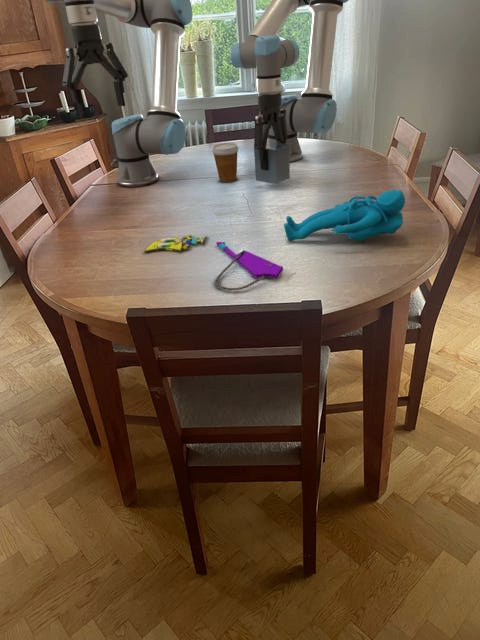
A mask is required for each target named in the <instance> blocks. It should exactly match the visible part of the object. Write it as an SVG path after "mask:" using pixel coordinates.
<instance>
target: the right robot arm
mask: <svg viewBox="0 0 480 640" xmlns="http://www.w3.org/2000/svg"><path fill="white" fill-rule="evenodd" d="M348 2H349V0H271V1H270V2H269V4H268V6H267V7H266V9H265V10H264V11H263V13H262V14H261V16H260V17H259V19H258V20H257V22H256V23H255V25H254V26H253V28H252V29H251V31H250V32H249V34H248V35H247V37H246V38H245V39H244V41H243V42H240V41H239V42H236V43H233V44H232V46H231V48H230V50H229V59H230V61H231V65H232V66H233V67H234V68H235V69H243V70H249V69H256V92H257V93H258V95H257V107H259V109H260V111H259V115H254V116H253V123H254V135H253V136H254V137H253V138H254V139H253V150H254V149H257V150H259V159H260V164H261V170H268V150H266V145H267V142H270V143H278V144H287V145H289V163H292V162H296V161H299V160H301V159H302V158H303V151H302V148H301V144H300V142H299V139H298V133H303V134H304V133H307V134H326V133H328V132H329V131H330V130H331V129H332V127H333V126H334V123H335V121H336V117H337V111H338V108H337V107H338V106H337V102H336V100H334V99H333V97H334V95H333V93H332V92H331V90H330V87H331V78H332V77H331V76H332V68H333V61H334V59H333V58H334V50H335V42H336V41H335V40H336V33H337V25H338V24H337V23H338V17H339V14H341V13H342V11H343V10H344V9H343V8H344V4H345V3H348ZM305 6H309V11H310V12H311V13H312V21H311V33H310V42H309V51H308V52H309V53H308V63H307V72H306V84H305V89H304V90H303V91H302V92H301V94H300V99H299V98H298V96H297V94H285V95H282V93H281V91H282V76H281V75H282V69H284V68H290V67H291V66H293V65H295V64H296V63H297V62H298V60H299V59H300V47H299V45H298V43H297V42H296V41H294V40H293V39H283V40H281V38H280V36H279V35H278V33H279V31H280V30H281V29H282V27H283V26H284V24H285V22H286V21H287V19H288V18H289V16H290V15H291V14H293V13H295V12H296V11H297V9H298V8H300V7H305ZM262 145H263V146H262Z"/></svg>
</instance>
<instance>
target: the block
mask: <svg viewBox="0 0 480 640" xmlns="http://www.w3.org/2000/svg"><path fill="white" fill-rule="evenodd" d="M262 146H263V145H262ZM266 150H268V170H261V164H260V159H259V150H257V149H254V148H253V153H254V171H255V181H257V182H261V183H265V184H266V183H268V184H273V185H279V184H280V183H283V182H285V181H288V180H289V179H291V176H290V174H291V170H290V168H291V167H290V162H289V145H287V144H278V143H270V142H268V141H267V145H266Z"/></svg>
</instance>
